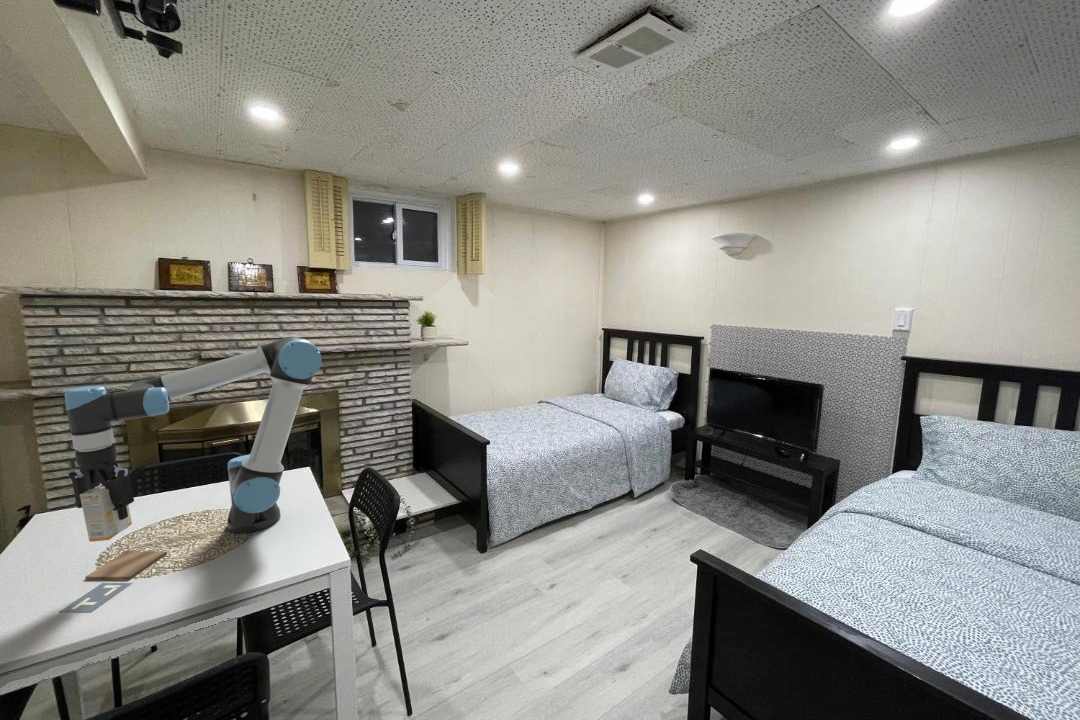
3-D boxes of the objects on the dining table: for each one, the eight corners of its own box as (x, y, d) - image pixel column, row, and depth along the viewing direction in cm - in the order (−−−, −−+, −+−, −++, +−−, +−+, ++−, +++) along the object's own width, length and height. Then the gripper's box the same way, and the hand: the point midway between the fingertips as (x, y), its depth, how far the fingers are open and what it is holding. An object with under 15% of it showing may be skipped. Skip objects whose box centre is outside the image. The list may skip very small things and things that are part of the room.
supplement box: (113, 525, 123) (105, 480, 121) (133, 524, 123) (125, 479, 121) (87, 542, 115) (78, 494, 112) (108, 540, 115) (99, 493, 113)
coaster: (166, 554, 133) (166, 551, 133) (130, 579, 121) (129, 576, 121) (126, 553, 133) (126, 551, 133) (85, 579, 121) (85, 576, 121)
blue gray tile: (132, 583, 119) (132, 582, 119) (91, 612, 108) (91, 611, 108) (102, 583, 119) (102, 582, 119) (58, 612, 108) (58, 611, 108)
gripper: (143, 440, 119) (157, 522, 123) (73, 442, 118) (89, 524, 122) (118, 450, 112) (134, 537, 116) (43, 453, 111) (61, 540, 115)
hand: (110, 530), depth 119 cm, fingers closed on supplement box, 5 cm apart
